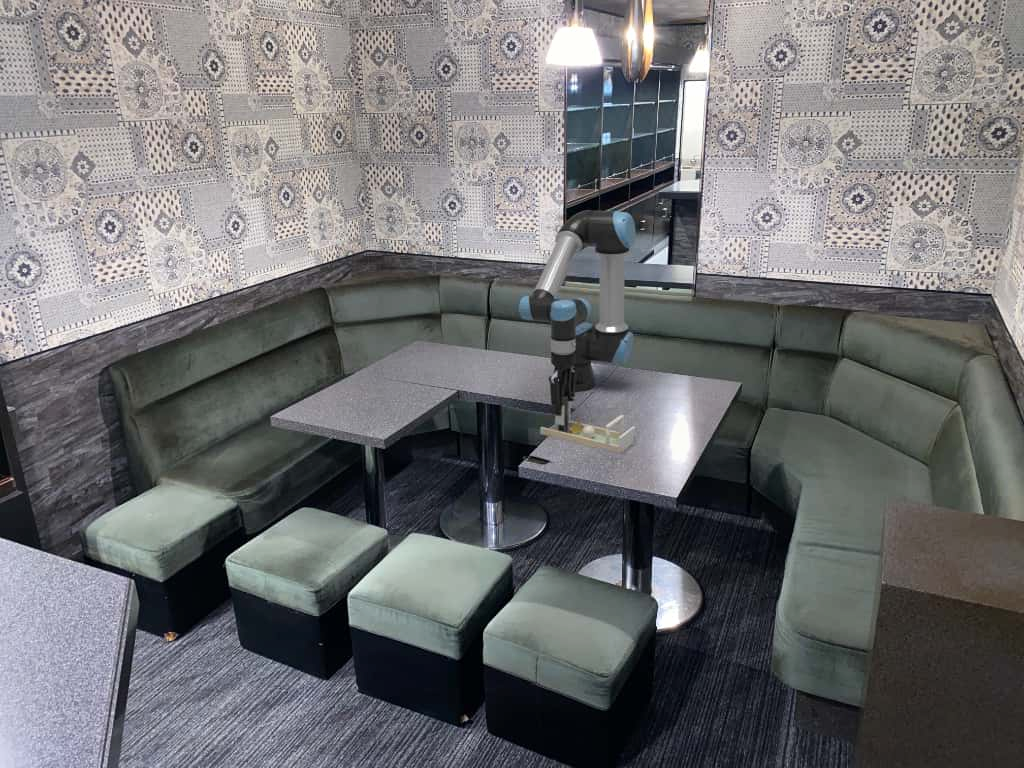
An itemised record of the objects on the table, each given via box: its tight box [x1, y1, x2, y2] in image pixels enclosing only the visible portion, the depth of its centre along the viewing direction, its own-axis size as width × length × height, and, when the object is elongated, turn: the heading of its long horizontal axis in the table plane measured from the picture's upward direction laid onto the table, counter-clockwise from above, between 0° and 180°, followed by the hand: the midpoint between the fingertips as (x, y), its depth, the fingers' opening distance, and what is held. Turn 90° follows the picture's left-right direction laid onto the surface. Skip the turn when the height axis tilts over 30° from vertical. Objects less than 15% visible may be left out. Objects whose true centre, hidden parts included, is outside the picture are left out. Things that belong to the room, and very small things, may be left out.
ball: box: [582, 425, 595, 438], centre depth 242 cm, size 4×4×4 cm
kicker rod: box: [549, 394, 582, 435], centre depth 245 cm, size 8×7×12 cm
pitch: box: [539, 414, 636, 454], centre depth 242 cm, size 28×10×9 cm, turn 56°
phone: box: [522, 453, 551, 465], centre depth 236 cm, size 8×1×15 cm
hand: (562, 422), depth 247 cm, fingers closed on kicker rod, 3 cm apart
